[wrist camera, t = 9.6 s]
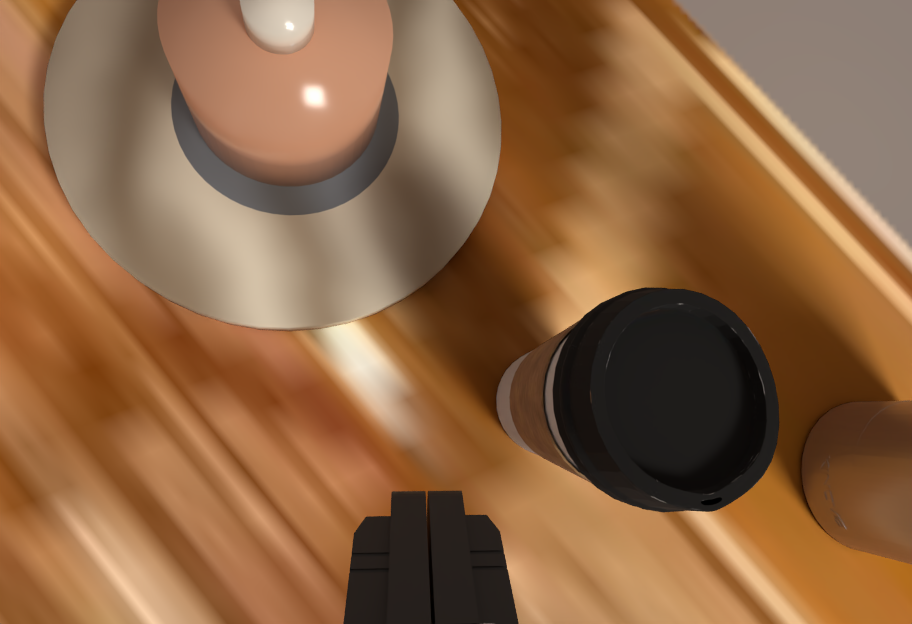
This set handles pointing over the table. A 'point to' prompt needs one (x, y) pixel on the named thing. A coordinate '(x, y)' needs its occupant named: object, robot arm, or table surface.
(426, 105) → the serving board
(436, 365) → the table surface
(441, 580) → the robot arm
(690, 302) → the coffee cup
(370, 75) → the knobbed pink canister
